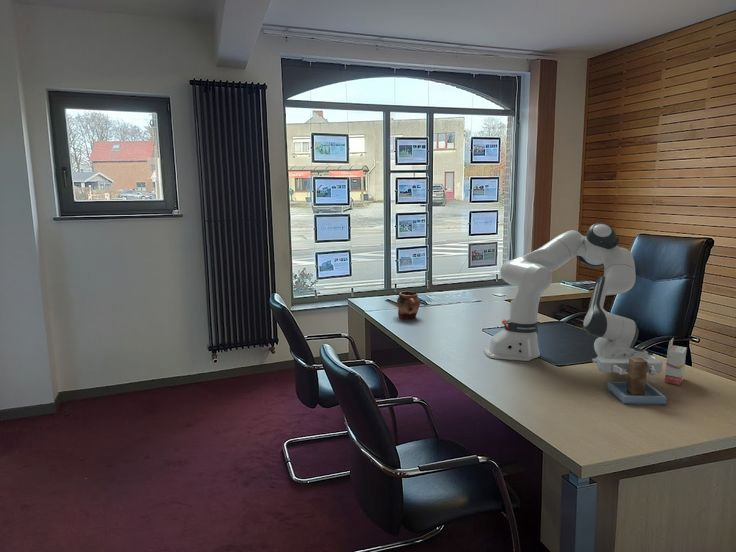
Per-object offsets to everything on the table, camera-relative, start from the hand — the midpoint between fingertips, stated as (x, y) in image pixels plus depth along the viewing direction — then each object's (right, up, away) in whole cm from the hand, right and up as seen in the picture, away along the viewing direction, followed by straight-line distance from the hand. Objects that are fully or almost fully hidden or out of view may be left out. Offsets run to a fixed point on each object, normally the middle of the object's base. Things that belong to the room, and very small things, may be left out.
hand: (638, 372), depth 162 cm
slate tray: (0, -8, +2) cm, 9 cm away
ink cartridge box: (+21, -6, +16) cm, 27 cm away
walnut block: (0, -8, +2) cm, 8 cm away
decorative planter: (-66, +8, +108) cm, 127 cm away
